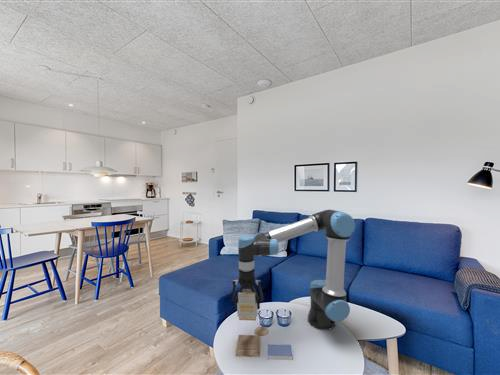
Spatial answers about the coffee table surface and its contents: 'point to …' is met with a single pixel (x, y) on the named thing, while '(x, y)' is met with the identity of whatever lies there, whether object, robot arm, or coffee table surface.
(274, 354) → the paperback
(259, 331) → the coaster
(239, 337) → the podium
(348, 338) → the coffee table surface
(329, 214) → the robot arm
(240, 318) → the supplement box
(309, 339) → the coffee table surface
